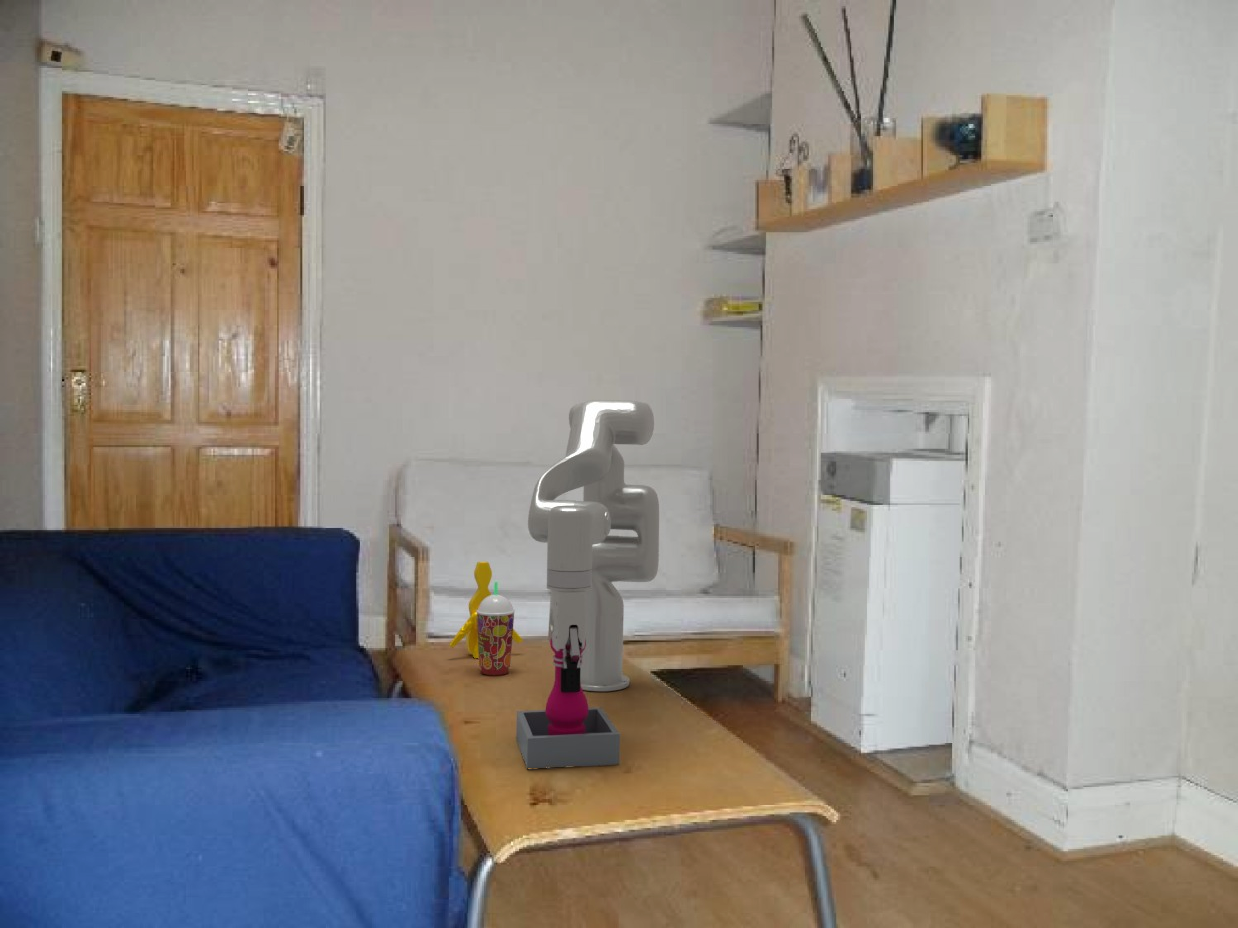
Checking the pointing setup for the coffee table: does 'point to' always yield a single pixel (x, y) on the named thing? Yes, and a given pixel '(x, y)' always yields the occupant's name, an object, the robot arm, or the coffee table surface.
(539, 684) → the coffee table surface
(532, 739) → the bin
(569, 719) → the pepper mill
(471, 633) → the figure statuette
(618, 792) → the coffee table surface
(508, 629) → the smoothie
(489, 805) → the coffee table surface
